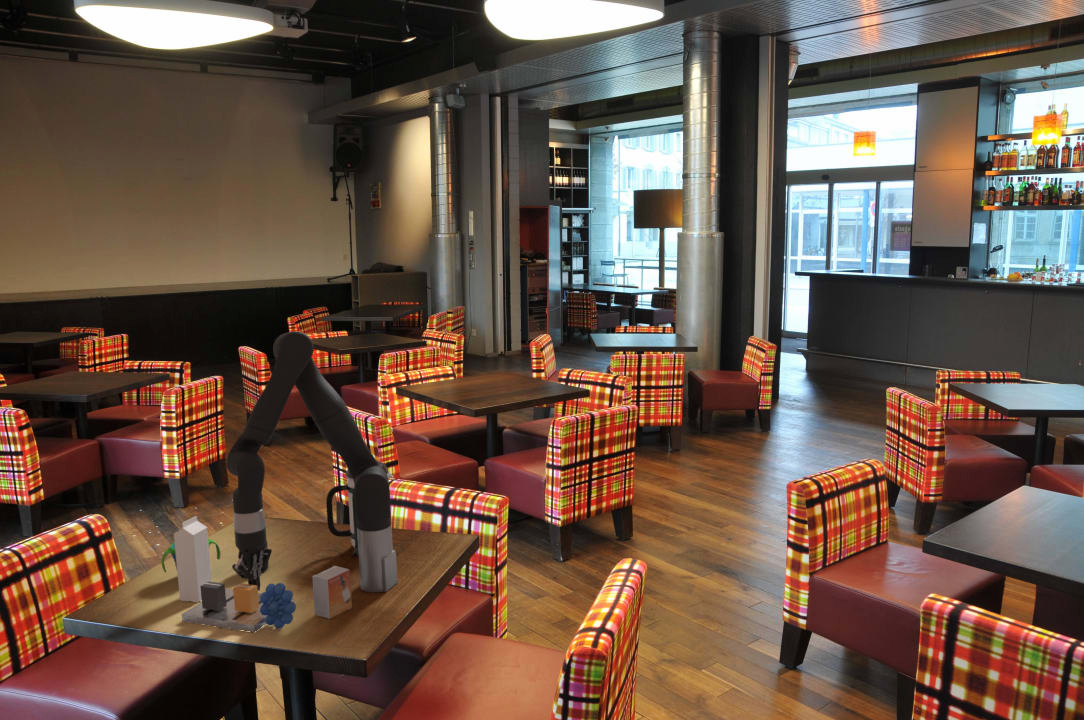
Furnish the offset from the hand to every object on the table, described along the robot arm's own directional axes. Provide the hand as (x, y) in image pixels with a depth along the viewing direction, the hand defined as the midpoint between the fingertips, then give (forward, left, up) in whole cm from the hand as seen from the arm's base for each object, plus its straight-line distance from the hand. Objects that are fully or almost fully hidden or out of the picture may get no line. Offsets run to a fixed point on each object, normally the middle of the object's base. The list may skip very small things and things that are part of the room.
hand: (254, 591), depth 213 cm
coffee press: (-5, -46, -6) cm, 47 cm away
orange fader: (0, +4, -3) cm, 5 cm away
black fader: (+9, +5, -3) cm, 11 cm away
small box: (-19, -6, -6) cm, 21 cm away
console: (+4, +2, -6) cm, 7 cm away
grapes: (-12, +5, -6) cm, 14 cm away
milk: (+22, -3, -6) cm, 23 cm away
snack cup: (+33, -14, -6) cm, 36 cm away
